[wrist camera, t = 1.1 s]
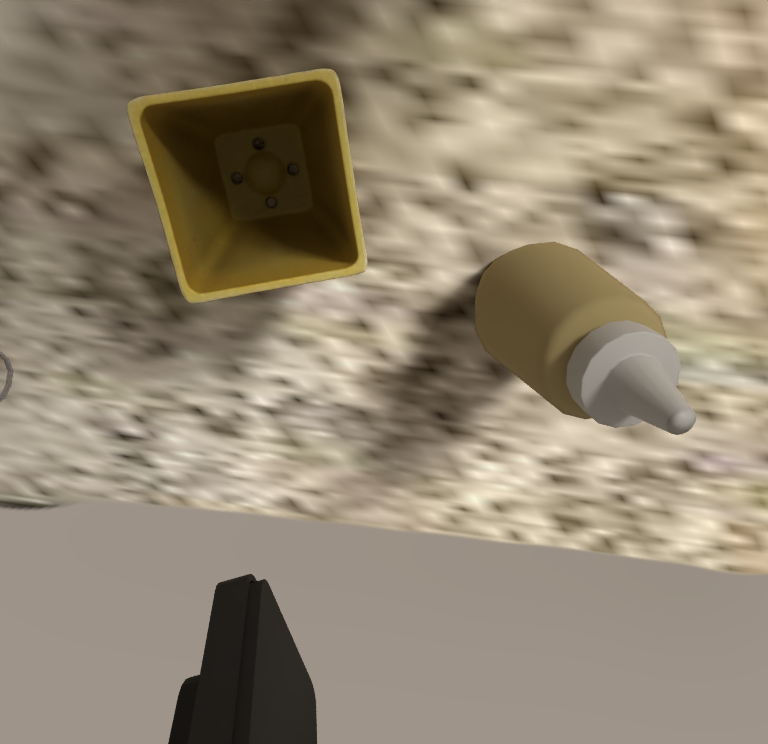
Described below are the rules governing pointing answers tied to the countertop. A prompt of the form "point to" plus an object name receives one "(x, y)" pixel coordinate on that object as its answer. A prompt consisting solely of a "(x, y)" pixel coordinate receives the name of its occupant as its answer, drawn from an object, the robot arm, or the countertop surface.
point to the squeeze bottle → (580, 338)
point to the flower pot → (252, 183)
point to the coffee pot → (9, 376)
